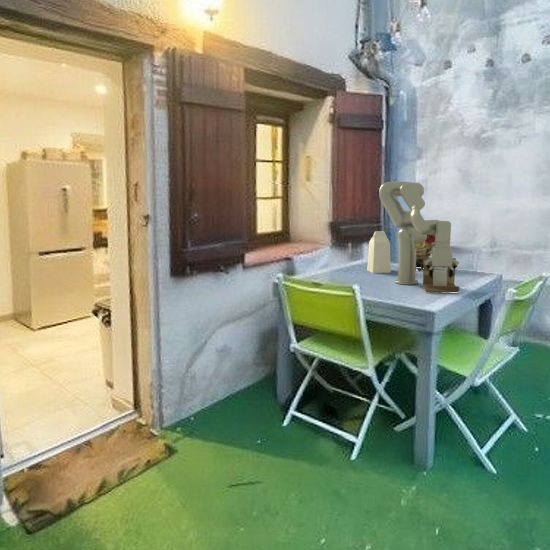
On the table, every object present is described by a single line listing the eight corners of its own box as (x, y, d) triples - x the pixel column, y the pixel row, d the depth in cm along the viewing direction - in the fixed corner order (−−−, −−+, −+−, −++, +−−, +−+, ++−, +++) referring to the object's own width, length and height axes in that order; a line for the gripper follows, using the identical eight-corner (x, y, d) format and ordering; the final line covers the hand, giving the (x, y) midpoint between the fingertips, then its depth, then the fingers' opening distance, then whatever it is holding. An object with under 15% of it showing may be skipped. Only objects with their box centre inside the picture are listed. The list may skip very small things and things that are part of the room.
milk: (372, 273, 298) (373, 232, 293) (367, 270, 309) (367, 231, 305) (390, 272, 300) (392, 232, 295) (384, 269, 311) (385, 230, 306)
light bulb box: (434, 283, 252) (435, 264, 250) (447, 284, 250) (448, 264, 248) (432, 287, 243) (433, 267, 241) (446, 288, 240) (447, 267, 238)
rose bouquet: (399, 265, 328) (400, 222, 323) (443, 266, 318) (445, 222, 313) (395, 271, 305) (397, 225, 299) (443, 273, 295) (445, 225, 289)
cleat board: (422, 286, 256) (423, 257, 253) (453, 287, 252) (455, 257, 250) (425, 292, 240) (427, 262, 237) (458, 293, 237) (460, 262, 234)
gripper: (425, 245, 240) (424, 278, 243) (461, 245, 237) (459, 279, 240) (424, 243, 247) (422, 275, 250) (458, 244, 244) (456, 276, 247)
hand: (440, 277), depth 245 cm, fingers open, 9 cm apart
